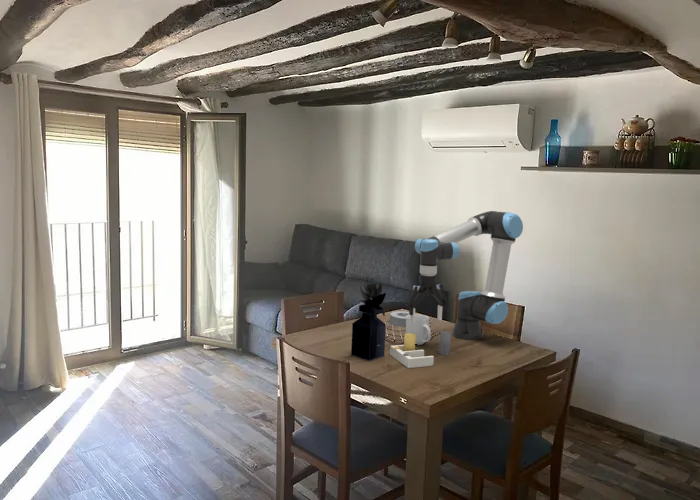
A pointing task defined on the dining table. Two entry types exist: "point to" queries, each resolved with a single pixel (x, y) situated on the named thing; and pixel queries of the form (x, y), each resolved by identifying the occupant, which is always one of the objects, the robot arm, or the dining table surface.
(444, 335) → the charcoal plug
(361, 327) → the vase
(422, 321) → the mug
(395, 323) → the grey wheel
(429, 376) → the dining table surface
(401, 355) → the comb rack
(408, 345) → the ochre plug
